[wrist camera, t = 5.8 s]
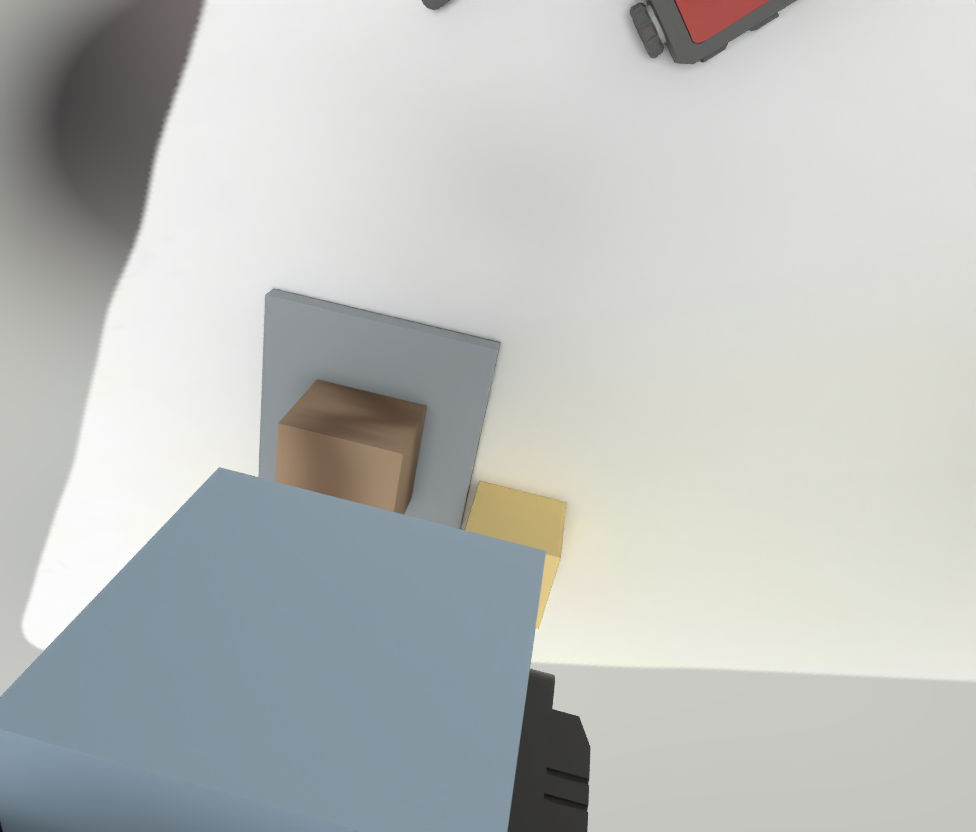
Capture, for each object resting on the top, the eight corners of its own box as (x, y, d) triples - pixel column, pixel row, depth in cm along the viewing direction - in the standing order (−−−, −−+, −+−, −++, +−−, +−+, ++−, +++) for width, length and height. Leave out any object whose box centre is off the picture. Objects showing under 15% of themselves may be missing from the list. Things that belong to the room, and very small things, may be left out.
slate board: (500, 342, 36) (497, 350, 35) (455, 553, 42) (451, 564, 41) (273, 289, 36) (265, 294, 35) (264, 505, 43) (257, 515, 42)
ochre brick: (566, 501, 40) (560, 557, 35) (545, 568, 42) (538, 628, 38) (480, 480, 40) (463, 533, 35) (464, 547, 42) (448, 605, 38)
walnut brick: (427, 405, 37) (402, 453, 32) (411, 497, 40) (387, 553, 35) (317, 379, 37) (278, 423, 33) (309, 472, 40) (273, 524, 36)
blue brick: (545, 551, 11) (502, 870, 7) (483, 764, 14) (421, 1095, 9) (218, 467, 12) (-24, 722, 7) (218, 692, 14) (40, 979, 10)
